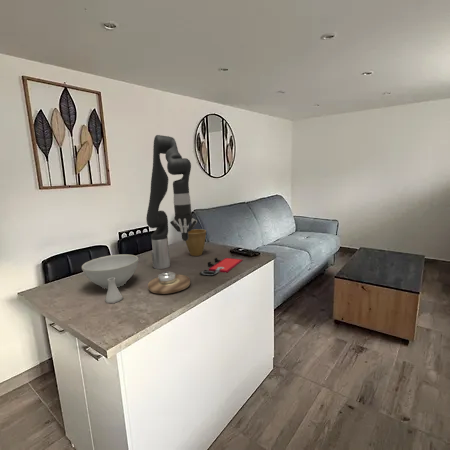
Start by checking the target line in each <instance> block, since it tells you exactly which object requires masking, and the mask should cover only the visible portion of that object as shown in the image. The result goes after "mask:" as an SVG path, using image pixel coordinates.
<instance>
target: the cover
mask: <svg viewBox="0 0 450 450" xmlns="http://www.w3.org/2000/svg"><path fill="white" fill-rule="evenodd" d="M175 274H176V273H175V272H173V271H170V270H169V271H168V270H167V271H163V272H162V273H159V274H158V275H157V277H158V278H159V284H162V285H168V284H172V283H174V282H175V281H176V277H175Z"/></svg>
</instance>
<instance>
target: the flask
mask: <svg viewBox="0 0 450 450" xmlns="http://www.w3.org/2000/svg"><path fill="white" fill-rule="evenodd" d="M107 280H108V283H109V286H108V289H107V292H106V297H105V299H104V300H105V303H107V304H114V303H119V302H121V301H122V300H123V299H124V297H123V296H122V294H121V292H120V290H119V287H118V288H117V286H116V283H115V278H109V279H107Z"/></svg>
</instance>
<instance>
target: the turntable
mask: <svg viewBox="0 0 450 450" xmlns="http://www.w3.org/2000/svg"><path fill="white" fill-rule="evenodd" d="M175 277H176V281H175V282H174V283H172V284H168V285H162V284H159V278H158V276H157V277H155V278H152V279H151V280H149V282H148V284H147V289H148V291H149V292H151V293H154V294H158V295H159V294H161V295H162V294H163V295H164V294H173V293H174V294H175V293H178V292H180V291H183V290H186V289H187V288H189V286H190V285H191V279H190V277H189V276H188V275H184V274H179V273H178V274H177V273H175Z"/></svg>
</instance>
